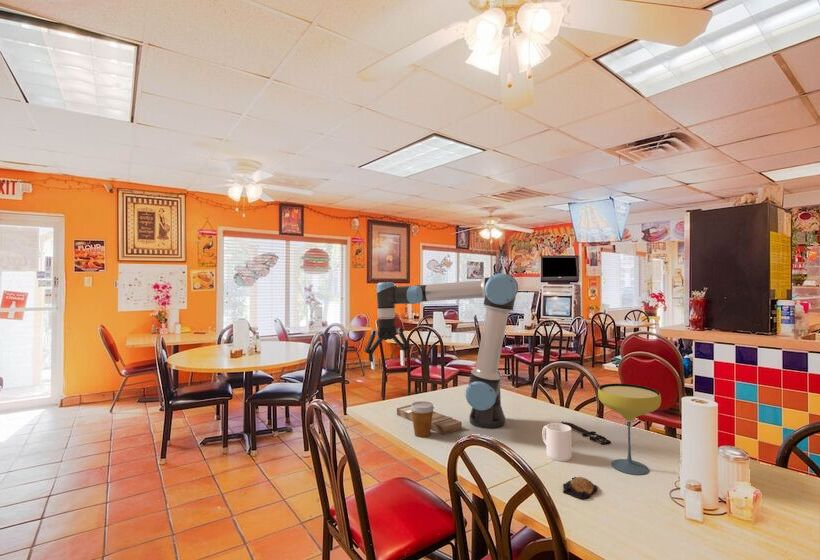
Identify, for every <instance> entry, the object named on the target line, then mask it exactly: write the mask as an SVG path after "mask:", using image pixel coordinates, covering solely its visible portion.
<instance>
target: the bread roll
mask: <svg viewBox="0 0 820 560" xmlns="http://www.w3.org/2000/svg"><path fill="white" fill-rule="evenodd" d="M562 487H563V490H562V493H563V494H564V495H568V496H570V497H572V498H575V499H577V500H582V501H583V500H584V501H585V500H587V501H588V500H590V499H591V498H592V497H593V496H594V495H595V494H596V493H597V492H598V489H599V486H598V485H597V484H594V483H593V482H592V481H591V480H589V479H588V478H585V477H582V476H577V477H576V476H574V477H572V478H571V480H568V481H567V482H565V483H563V484H562Z"/></svg>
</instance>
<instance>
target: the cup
mask: <svg viewBox="0 0 820 560" xmlns="http://www.w3.org/2000/svg"><path fill="white" fill-rule="evenodd" d="M541 434H542V435H541V437H542V441H543V443H544V444H545V447H546V450H545V452H546V455H547V457H548V458H549V459H551V460H553V461H556V462H567V461H571V459H572V456H573V449H572V448H573V447H572V445H573V444H572V442H573V441H572V436H573V435H572V434H573V433H572V429H571V427H570V426H568V425H565V424H562V423H559V422H552V423H548V424H546V425H544V426H543V427H542V432H541Z"/></svg>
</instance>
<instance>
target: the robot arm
mask: <svg viewBox="0 0 820 560" xmlns="http://www.w3.org/2000/svg"><path fill="white" fill-rule="evenodd" d="M518 293H519V285H518V281H517V279H516V278H515V277H514V276H513V275H510V274H509V273H501V272H499V273H495V274H493V275H492V276H489V277H484V278H483V279H482V280H481V279H479V280H471V281H468V280H467V281H457V282H456V281H455V282H444V283H431V284H430V283H429V284H417V285H416V284H415V285H405V286H397V285H395V283H394V282H393V281H392V282H390V281H387V282H384V281H383V282H378V283H377V285H376V298H377V299H376V300H377V303H376V305H377V330H373V329H371V331H370V337H369V338H368V341H367V342H366V343H367V344H366V346H365V348H364V353H366V354H368V361H369V362H370V364H371V366H370V368H371V370H372V371H375V370H376V357H375V353H374V352H375V351H376V350H377V348H378V347H379V345H380V344H381V343H382V342H383V340H384V341H387V340H389V341H390V340H393V341H394V342H395V343H396V345H398V347H399V348H400V351H399V353H400V358H399V359H400V360H399V361H400V366H402V367H405V366H406V365H405V358H407V350H408V349H410V348H411V345H410V344H409V342H408V340H407V338H406V336H405V334H404V331H403V329H404V328H402V327H398V328H396V318H395V317H396V308H395V307H396V305H400V304H401V305H410V304H411V305H416V304H417V305H418V304H420V303H423V302H424V303H425V302H436V301H437V302H438V301H452V300H453V301H454V300H455V301H457V300H469V299H470V300H472V299H483V300H484V301H483V306H484V308H485V309H486V310H485V316H484V321H483V325H482V326H483V327H482V333H481V336H480V343H479V348H478V353H477V358H476V359H477V360H476V363H475V368H473V369H471V371H470V375H469V379H468V380H469V381H468V385H467V387H466V389H465V399H466V402H467V403H468V404H469V406H470V407H471V410H470V414H469V423H470V424H471V425H473V426H475V427H477V428H484V429H494V428H495V429H496V428H501V427H503V426H504V425H505V424H506V417H505V414H504V411H503V408H502V404H501V397H502V396H501V371H500V369H499V365H500V360H501V354H502V349H503V342H504V338H505V333H506V327H507V323H508V322H507V321H508V317H509V314H510V313H511V312H513V311H514V308H515V302H516V297H517V294H518ZM396 333H397V334H398V335H399V337H400V339H399V338H398V337H397V336H396ZM377 335H378V336H377ZM376 336H377V338H376ZM375 338H376V340H375ZM374 340H375V341H374ZM400 340H401V341H402V342H401V341H400Z"/></svg>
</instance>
